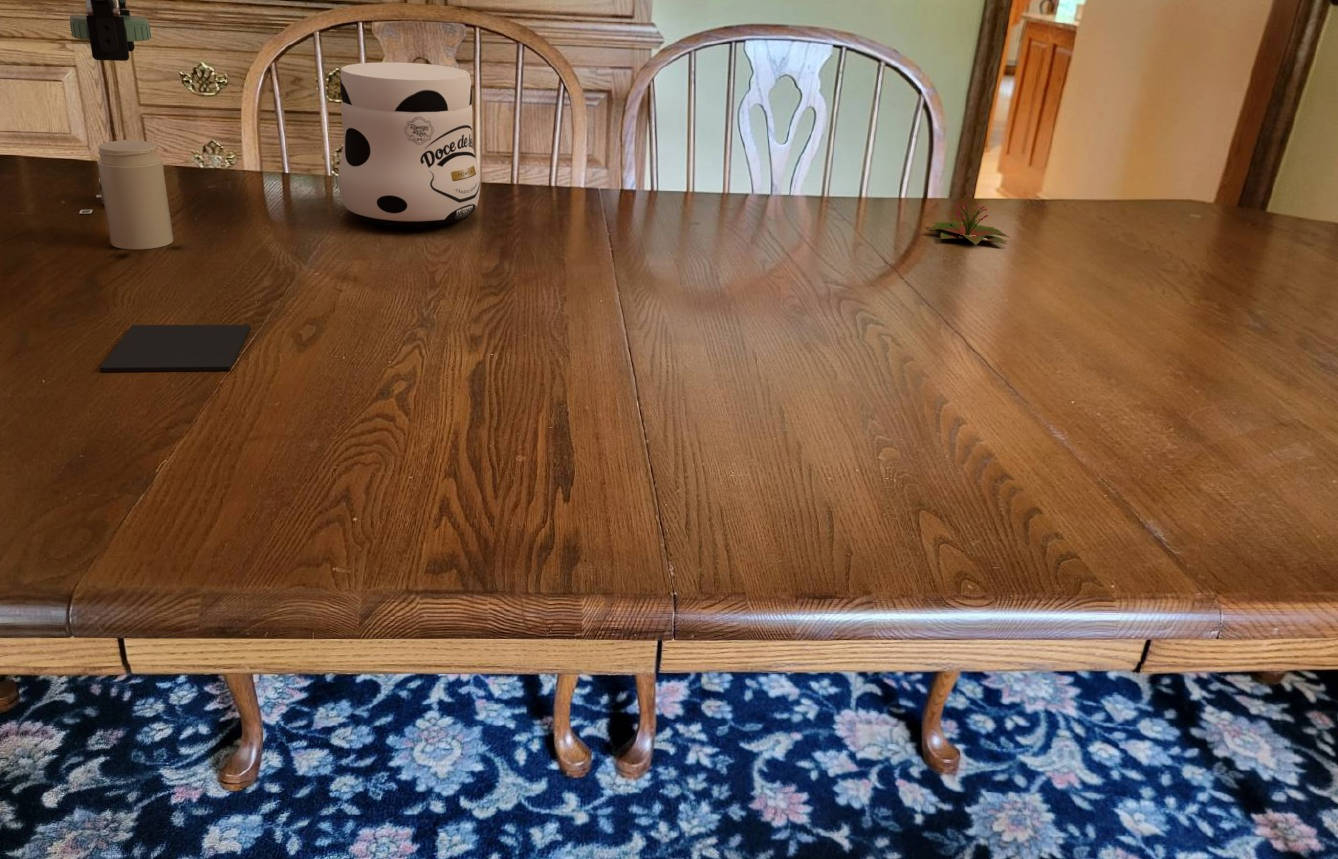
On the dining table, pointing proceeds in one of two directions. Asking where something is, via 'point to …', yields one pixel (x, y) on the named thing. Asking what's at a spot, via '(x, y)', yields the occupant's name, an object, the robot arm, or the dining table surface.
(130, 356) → the coaster
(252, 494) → the dining table surface
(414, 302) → the dining table surface
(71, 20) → the honey lid
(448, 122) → the milk container
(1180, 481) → the dining table surface
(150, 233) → the honey jar
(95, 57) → the robot arm
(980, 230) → the lily flower
